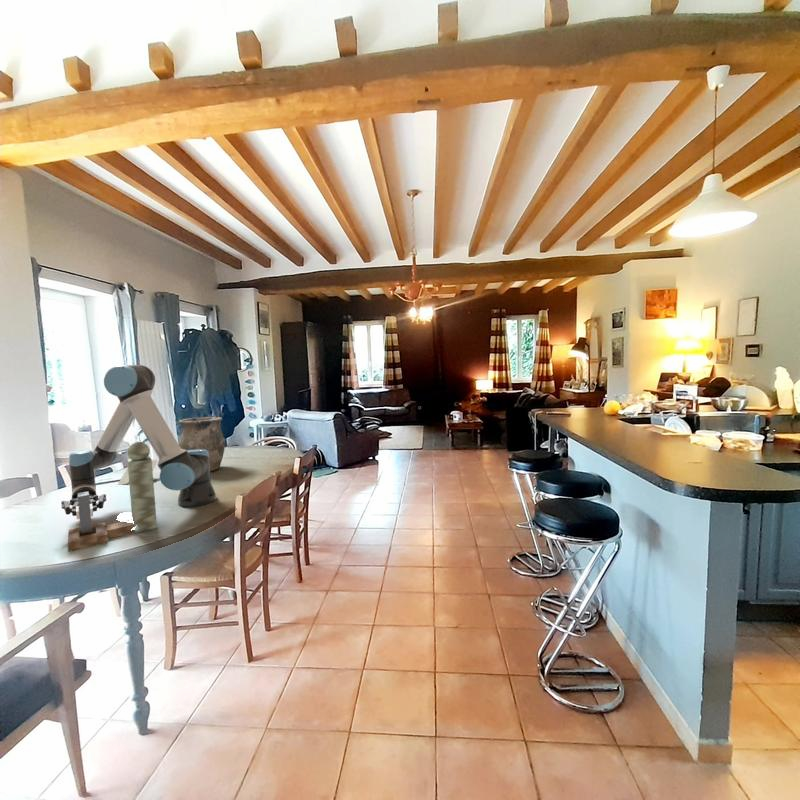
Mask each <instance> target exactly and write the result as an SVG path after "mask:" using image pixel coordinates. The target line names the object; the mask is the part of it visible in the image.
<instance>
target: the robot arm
mask: <svg viewBox="0 0 800 800" xmlns="http://www.w3.org/2000/svg"><path fill="white" fill-rule="evenodd" d="M155 385H156V376H155V374H154V372H153V371H152V369H151V368H149V367H148V366H145V365H143V364H121V365H116V366H113V367H111V368H110V369H108V370H107V372H106V373H105V375H104V378H103V386H104V389H105V391H107V392H108V393H109V394H111V395H113V396H115V397H117V398H118V401H119V403H118V406H117V407H116V408H115V411H114V413H113V415H112V416H111V419H110V420H109V422H108V424H107V426H106V428H105V430H104V432H103V433H102V435H101V437H100V439H99V442H98V443H97V444H96V447H95V448H94V451H92V450H89V449H85V450H84V449H83V450H82V449H81V450H77V451H73V452H71V453H70V454H69V455H68V456H69V457H68V458H69V461H68V463H69V470H70V471H69V473H70V482H71V484H70V485H71V499H69V500H62V501H60V502H61V505H60V506H61V509H63V510H64V512H65V515H70V514H72V516H73V517H75V516H76V520H80V515H79V505H78V493H82V492H88V491H89V502H90V516H91V518H92V517H94V512H97V511H98V509H103V508H104V504H105V502H107V494H106V493H104V494H101V495H98V494H97V485H96V477H95V474H96V473H95V471H97V470H99V469H102V468H104V467H108V466H110V465H111V464H113V463H114V462H115V461H117V459H118V452H117V451H118V449H119V448H120V446H121V443H122V442H123V440H124V438H125V436H126V435H127V432H128V431H129V429H130V427H131V426H132V424H133V422H134V420H136V422H137V424H138V425H139V427H140V428H141V430H142V432H143V434H144V436H145V438H146V439H147V441H148V443H149V444H150V446H151V448H152V449H153V451H154V453H155V455H156V456H157V458H158V461H157V463H156V466H158V468H159V470H160V472H159V480H160V482H161V484H162V486H164V487H165V488H166V489H168V490H171V491H179V494H178V496H177V497H178V498H177V504H178V506H180V507H186V508H187V507H190V508H193V507H197V506H198V507H199V506H204V505H207V504H210V503H213V502H214V501H216V499H217V494H216V493H217V492H216V491H215V489H214V487H213V484H212V481H211V472H210V463H209V458H210V457H209V453H208V451H207V450H185V449H181V448H180V446H179V443H178V441H177V439H176V438H175V436H174V434H173V433H172V430H171V429H170V427H169V425H168V423H167V422H166V420H165V419H164V417H163V415H162V414H161V411H160V409H159V408H158V407H157V405H156V403H155V401H154V399H153V398H152V393H153V390H154V388H155Z"/></svg>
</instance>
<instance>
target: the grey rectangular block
mask: <svg viewBox="0 0 800 800" xmlns="http://www.w3.org/2000/svg"><path fill="white" fill-rule="evenodd" d="M78 505H79V515H80V519H79V524H80V525H79V526H80V527H81V534H82V533H87V532H92V525H93V524H92V517H91V516H90V502H89V491H88V492H82V493H78Z"/></svg>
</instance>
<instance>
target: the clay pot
mask: <svg viewBox="0 0 800 800" xmlns="http://www.w3.org/2000/svg"><path fill="white" fill-rule="evenodd" d="M222 420H223V418H222V417H217V416H205V417H191V418H183V419H180V420H179V421H178V423H179V425H180V426H181V428H182V431H181V434H180V438H179V440H178V441H179V443H178V444H179V446H180V448H181V449H185V450H207V451H208V453H209V457H210V458H209V463H210V473H211V472H214V471H217V470H219V469H220V468H221V465H222V461H223V458H224V453H225V447H226V446H225V442H226V438H225V437H224V435H223V431H222V430H221V427H220V424H221V422H222Z"/></svg>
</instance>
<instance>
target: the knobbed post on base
mask: <svg viewBox="0 0 800 800" xmlns="http://www.w3.org/2000/svg"><path fill="white" fill-rule="evenodd" d="M126 452H127V453H126V454H127V456H128V457H129V458H127V459H126V462H127V468H128V474H129V484H128V485H129V496H130V507H131V518H132V517H133V521H134V524H133V523H127V522H124V521H120V522H115V523H110V524H106V522H99V523H93V524H91V525H92V532H87V533H82V534H81V527H76V528H70V529H68V535H67V549H68V552H69V553H71V552H73V551H79V550H81V549H83V550H84V549H87V548H90V547H95V546H98V545H104V544H108V543H109V539H113V538H116V537H117V538H118V537H120V536H121V537H122V536H125V535H126V536H127V535H130V534H136V533H141V532H145V531H149V530H154V529H157V528H158V523H157V511H156V510H157V509H156V499H155V486H154V485H155V484H154V474H153V473H154V470H153V471H152V461H153V460H152V458H151V456H149V455H150V454H151V453H150V452H151V450H150V446H149V445H148V444H146V443H144V442H141V441H137V442H134V443H132V444H130V445H129V447H128V448H127V451H126ZM136 525H138V528H139V529H138V530H132V531H131V529H132V528H133V527H135V526H136Z"/></svg>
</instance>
